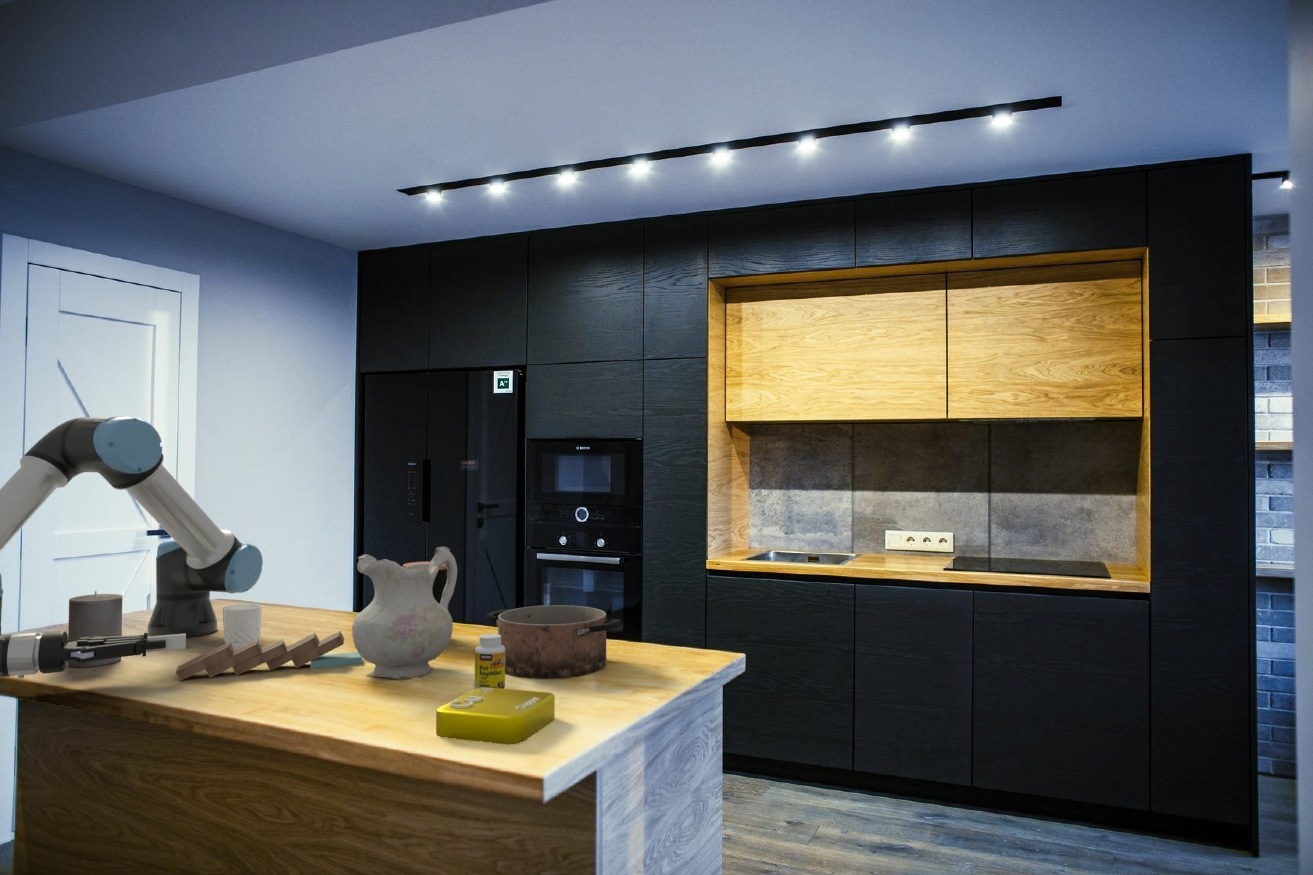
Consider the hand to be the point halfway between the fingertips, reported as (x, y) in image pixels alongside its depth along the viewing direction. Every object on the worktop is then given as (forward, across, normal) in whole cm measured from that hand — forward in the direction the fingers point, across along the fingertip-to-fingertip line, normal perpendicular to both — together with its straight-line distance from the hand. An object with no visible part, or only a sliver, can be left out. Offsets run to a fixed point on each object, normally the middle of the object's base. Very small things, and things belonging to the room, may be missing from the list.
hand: (185, 641), depth 170 cm
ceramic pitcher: (+40, +14, -7) cm, 43 cm away
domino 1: (-1, 0, -6) cm, 6 cm away
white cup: (+10, -20, -7) cm, 24 cm away
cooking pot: (+68, +23, -8) cm, 72 cm away
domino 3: (+9, 0, -6) cm, 11 cm away
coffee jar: (+49, -14, -7) cm, 52 cm away
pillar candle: (-18, -23, -7) cm, 30 cm away
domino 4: (+15, -1, -6) cm, 16 cm away
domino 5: (+20, 0, -6) cm, 21 cm away
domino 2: (+4, 0, -6) cm, 7 cm away
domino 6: (+23, 0, -7) cm, 24 cm away
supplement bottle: (+51, +36, -7) cm, 63 cm away
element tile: (+47, +57, -8) cm, 74 cm away
